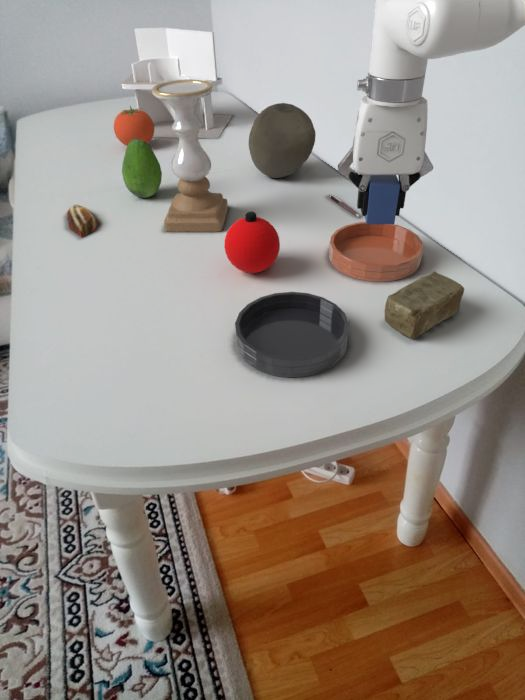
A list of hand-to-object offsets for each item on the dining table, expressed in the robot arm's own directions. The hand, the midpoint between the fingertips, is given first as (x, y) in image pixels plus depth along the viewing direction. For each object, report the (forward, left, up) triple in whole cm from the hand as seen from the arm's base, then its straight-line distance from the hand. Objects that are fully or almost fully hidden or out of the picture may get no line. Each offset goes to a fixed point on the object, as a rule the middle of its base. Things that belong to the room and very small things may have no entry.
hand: (379, 211), depth 83 cm
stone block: (-16, +9, -9) cm, 20 cm away
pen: (+17, -12, -9) cm, 23 cm away
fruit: (+51, +13, -9) cm, 53 cm away
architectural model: (+87, -21, -9) cm, 90 cm away
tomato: (+80, -3, -9) cm, 80 cm away
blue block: (0, 0, -1) cm, 1 cm away
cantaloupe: (+38, -15, -9) cm, 42 cm away
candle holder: (+34, +12, -9) cm, 37 cm away
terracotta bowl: (0, 0, -8) cm, 8 cm away
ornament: (+12, +17, -9) cm, 22 cm away
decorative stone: (+50, +29, -9) cm, 59 cm away
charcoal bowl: (-6, +26, -8) cm, 28 cm away
